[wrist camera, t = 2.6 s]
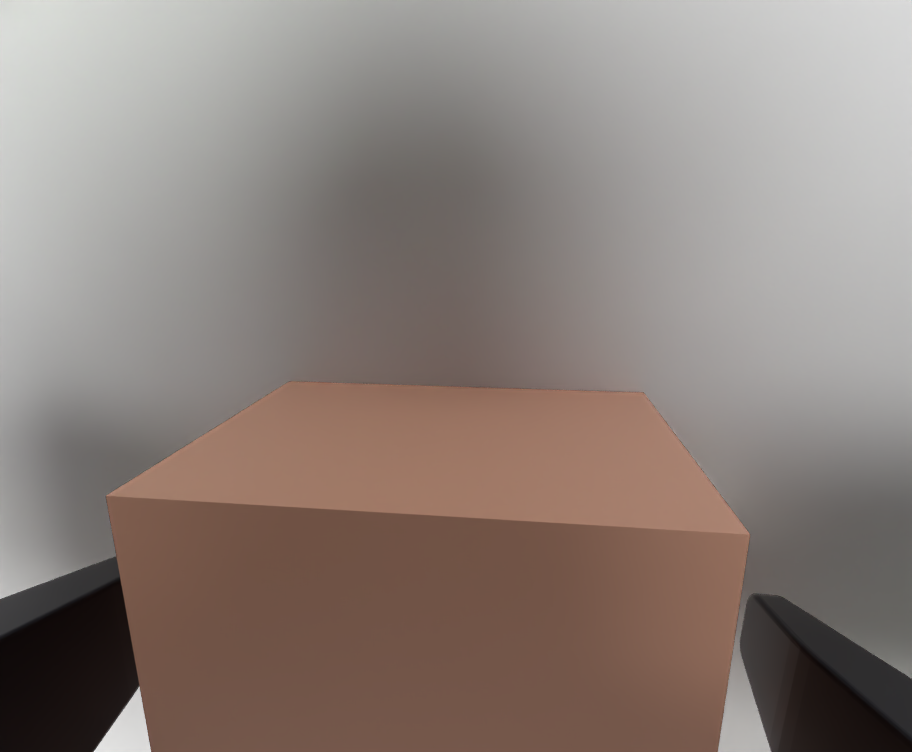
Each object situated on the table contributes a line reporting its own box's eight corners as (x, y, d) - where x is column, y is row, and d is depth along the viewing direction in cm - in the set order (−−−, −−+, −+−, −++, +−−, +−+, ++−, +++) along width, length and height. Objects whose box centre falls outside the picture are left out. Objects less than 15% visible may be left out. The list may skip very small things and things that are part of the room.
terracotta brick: (641, 389, 9) (750, 534, 5) (615, 690, 10) (678, 1009, 6) (292, 379, 10) (105, 496, 5) (315, 661, 11) (182, 930, 7)
